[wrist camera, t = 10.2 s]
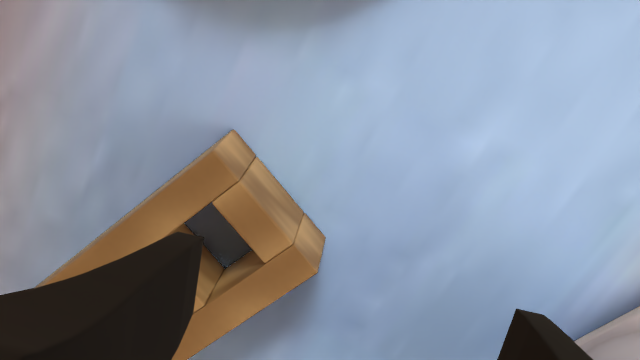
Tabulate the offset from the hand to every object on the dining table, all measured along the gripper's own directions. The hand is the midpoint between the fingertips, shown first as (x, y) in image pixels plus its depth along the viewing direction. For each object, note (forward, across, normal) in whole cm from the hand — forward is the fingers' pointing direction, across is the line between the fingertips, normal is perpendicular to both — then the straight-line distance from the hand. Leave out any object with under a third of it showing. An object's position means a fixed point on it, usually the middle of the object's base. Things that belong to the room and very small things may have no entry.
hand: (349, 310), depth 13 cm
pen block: (+10, +8, +7) cm, 15 cm away
